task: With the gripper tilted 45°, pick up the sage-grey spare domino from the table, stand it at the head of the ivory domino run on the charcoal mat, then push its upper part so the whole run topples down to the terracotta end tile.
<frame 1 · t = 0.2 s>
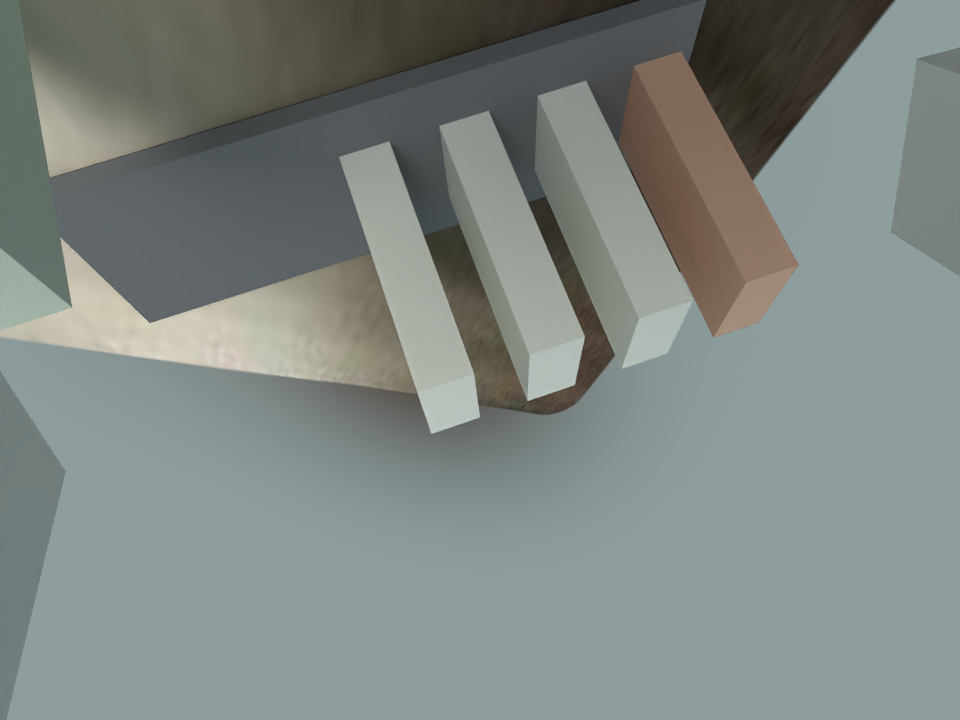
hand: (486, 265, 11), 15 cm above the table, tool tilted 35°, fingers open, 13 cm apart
end domino: (647, 100, 34), point 1 cm above the table, touching domino mat
domino 3: (558, 128, 34), point 1 cm above the table, touching domino mat
domino mat: (392, 162, 34), on the table
domino 2: (467, 156, 34), point 1 cm above the table, touching domino mat
domino 1: (374, 185, 33), point 1 cm above the table, touching domino mat
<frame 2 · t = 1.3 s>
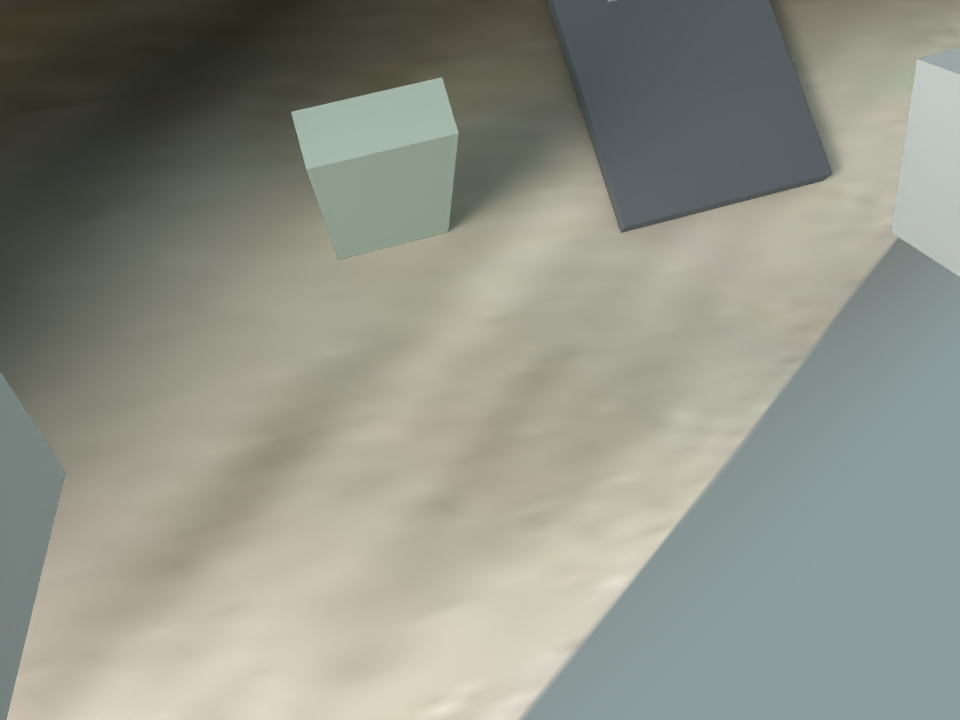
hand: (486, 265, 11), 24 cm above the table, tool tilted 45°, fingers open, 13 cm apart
spare domino: (387, 224, 36), on the table
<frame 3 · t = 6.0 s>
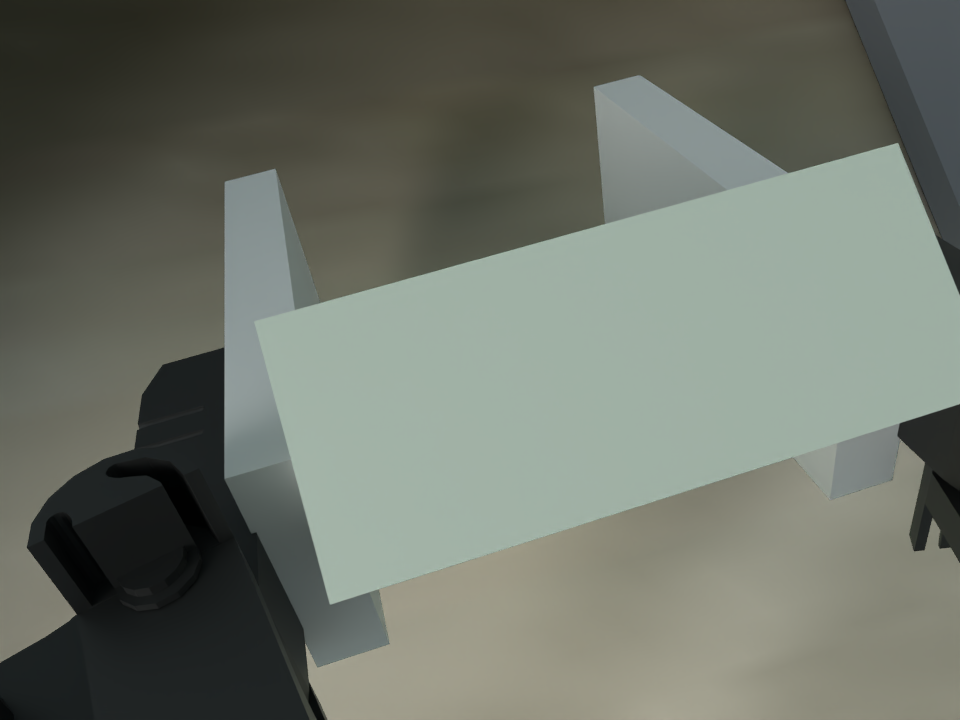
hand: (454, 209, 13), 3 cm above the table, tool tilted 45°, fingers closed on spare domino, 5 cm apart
spare domino: (505, 448, 16), on the table, touching gripper
when the fingers open (6 cm above the table, at t = 12.4 s): spare domino drops 1 cm, resting on domino mat.
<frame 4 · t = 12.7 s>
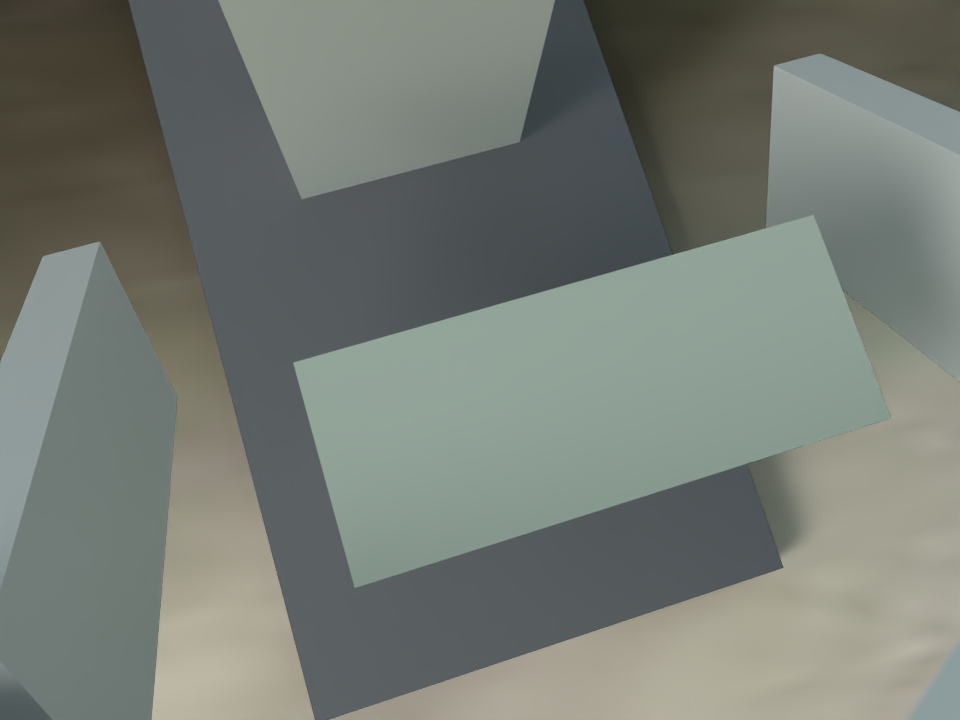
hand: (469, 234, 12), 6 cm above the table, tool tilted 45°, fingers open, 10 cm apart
domino mat: (389, 106, 19), on the table
spare domino: (500, 455, 17), point 1 cm above the table, touching domino mat
domino 1: (399, 129, 18), point 1 cm above the table, touching domino mat
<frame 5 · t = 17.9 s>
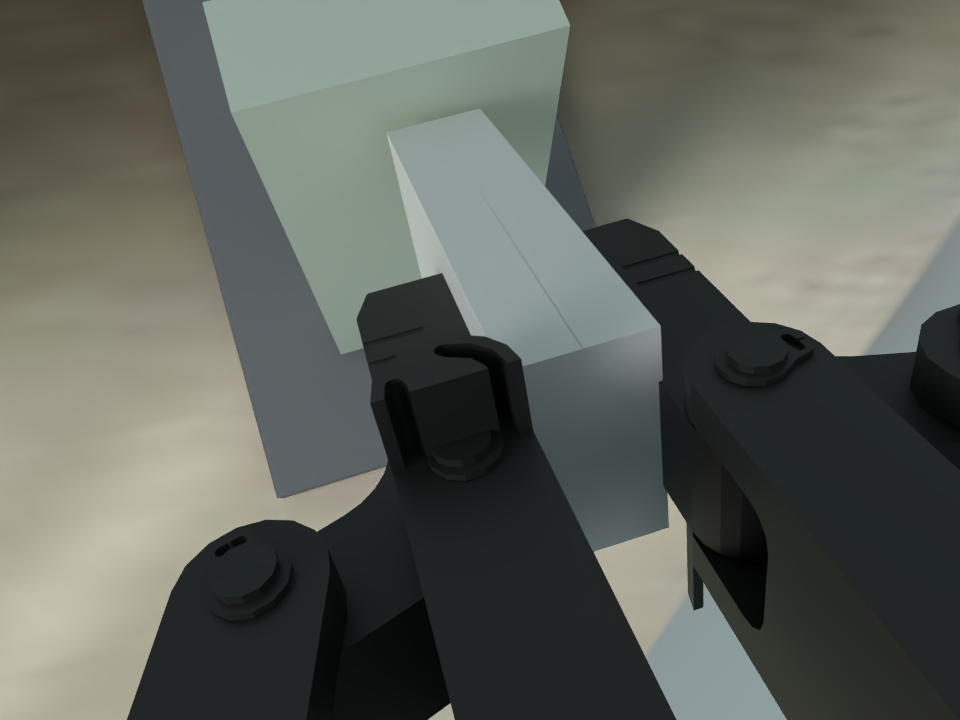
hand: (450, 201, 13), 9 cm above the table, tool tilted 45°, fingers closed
domino mat: (338, 25, 24), on the table
spare domino: (424, 293, 21), point 1 cm above the table, tilted 10°, touching domino mat
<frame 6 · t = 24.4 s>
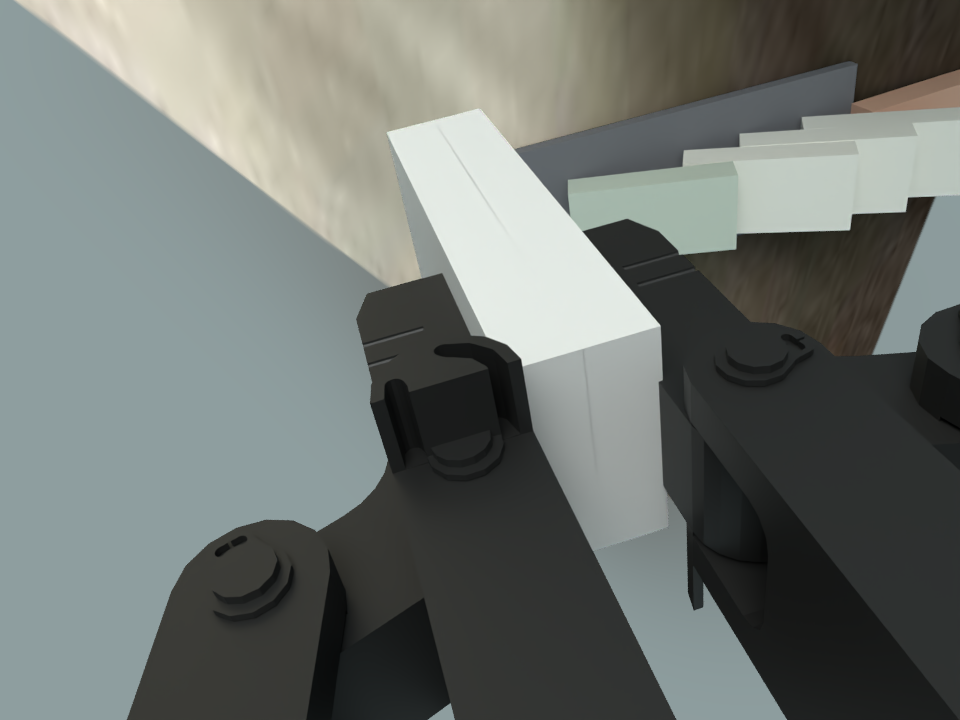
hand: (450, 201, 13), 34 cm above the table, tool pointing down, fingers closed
end domino: (858, 144, 54), point 2 cm above the table, tilted 95°, touching domino 3, domino mat
domino 3: (799, 159, 54), point 2 cm above the table, tilted 62°, touching domino 2, end domino
domino mat: (671, 181, 54), on the table
domino 2: (738, 176, 53), point 2 cm above the table, tilted 62°, touching domino 1, domino 3, domino mat
spare domino: (571, 222, 52), point 2 cm above the table, tilted 71°, touching domino 1, domino mat
domino 1: (683, 193, 53), point 2 cm above the table, tilted 62°, touching domino 2, spare domino
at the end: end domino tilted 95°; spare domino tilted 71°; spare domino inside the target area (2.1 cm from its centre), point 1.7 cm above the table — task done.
